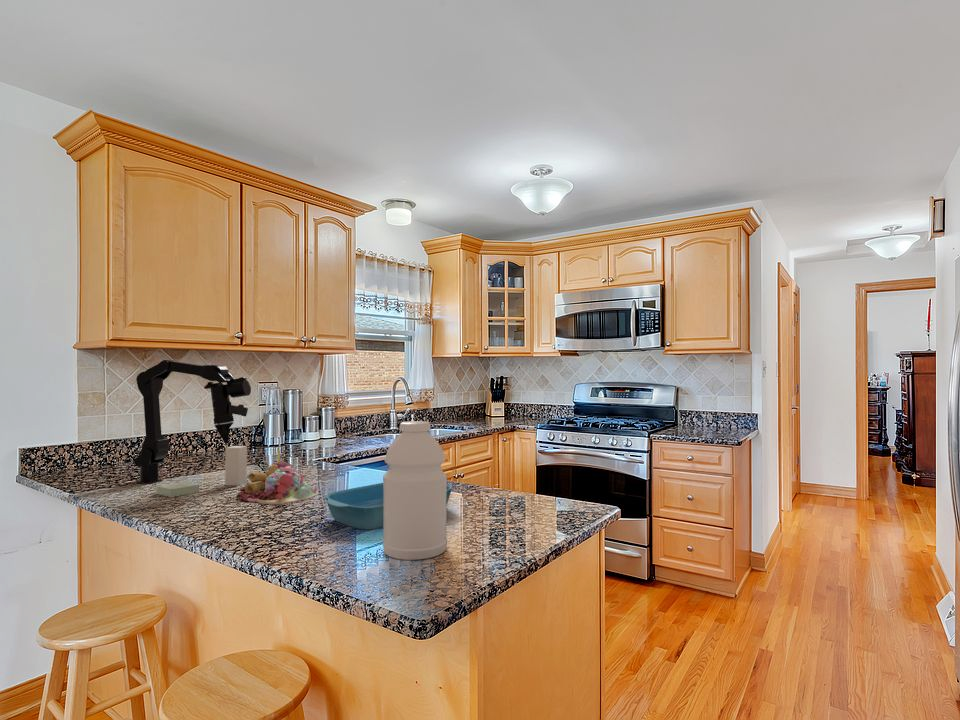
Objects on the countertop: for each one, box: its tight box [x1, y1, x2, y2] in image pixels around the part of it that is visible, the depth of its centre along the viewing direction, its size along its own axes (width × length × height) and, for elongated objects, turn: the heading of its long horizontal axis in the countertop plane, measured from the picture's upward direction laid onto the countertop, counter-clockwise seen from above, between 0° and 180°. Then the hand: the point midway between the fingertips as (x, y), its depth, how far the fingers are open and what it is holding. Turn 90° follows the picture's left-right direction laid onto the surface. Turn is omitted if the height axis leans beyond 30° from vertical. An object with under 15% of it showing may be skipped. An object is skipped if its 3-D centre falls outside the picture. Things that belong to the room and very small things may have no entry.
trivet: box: [156, 481, 200, 498], centre depth 176 cm, size 9×9×2 cm
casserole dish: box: [325, 482, 453, 530], centre depth 148 cm, size 37×22×7 cm, turn 137°
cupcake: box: [267, 448, 294, 472], centre depth 195 cm, size 9×8×12 cm
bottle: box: [382, 420, 448, 561], centre depth 119 cm, size 14×14×28 cm
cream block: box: [224, 445, 248, 486], centre depth 191 cm, size 5×5×13 cm
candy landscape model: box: [235, 464, 319, 505], centre depth 174 cm, size 25×24×9 cm
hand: (226, 442), depth 194 cm, fingers open, 9 cm apart
